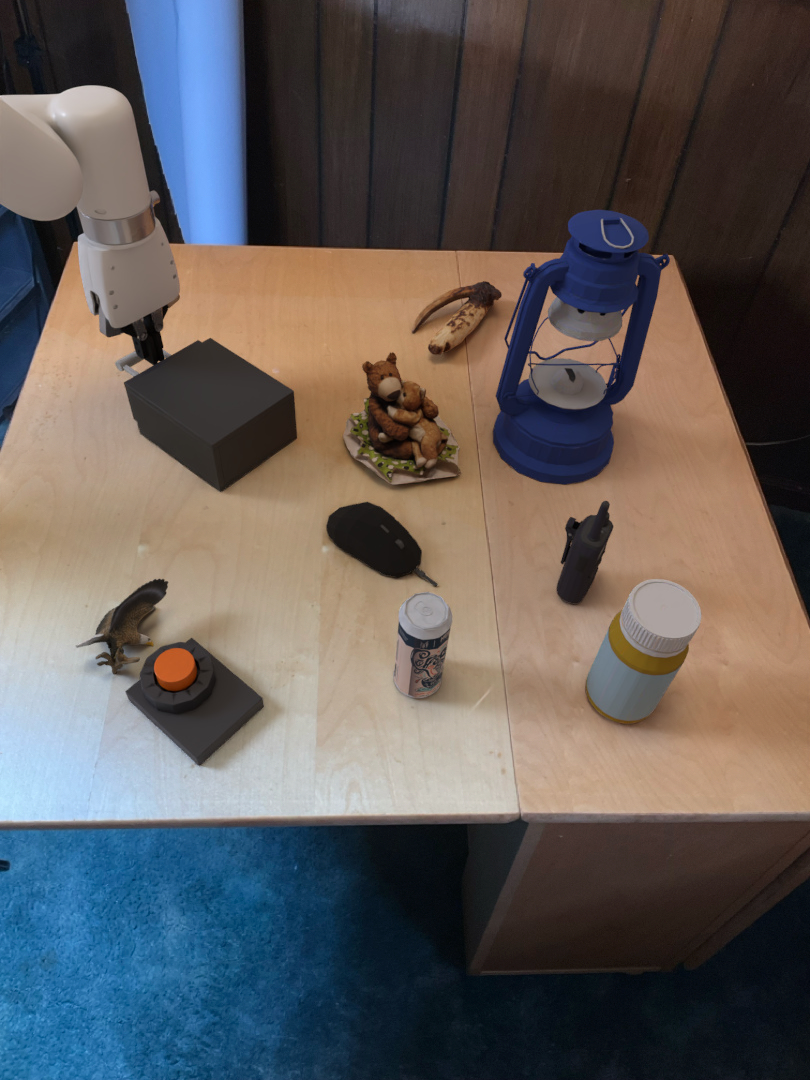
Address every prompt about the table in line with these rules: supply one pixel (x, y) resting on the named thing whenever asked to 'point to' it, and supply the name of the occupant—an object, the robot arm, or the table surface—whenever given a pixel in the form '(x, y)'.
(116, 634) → the eagle figurine
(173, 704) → the control block
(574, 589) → the two-way radio
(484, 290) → the lashed bone hook
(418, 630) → the beer can
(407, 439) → the bear figurine
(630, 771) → the table surface
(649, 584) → the bottle
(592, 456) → the lantern
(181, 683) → the button
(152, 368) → the open drawer
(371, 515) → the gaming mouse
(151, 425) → the black drawer box
